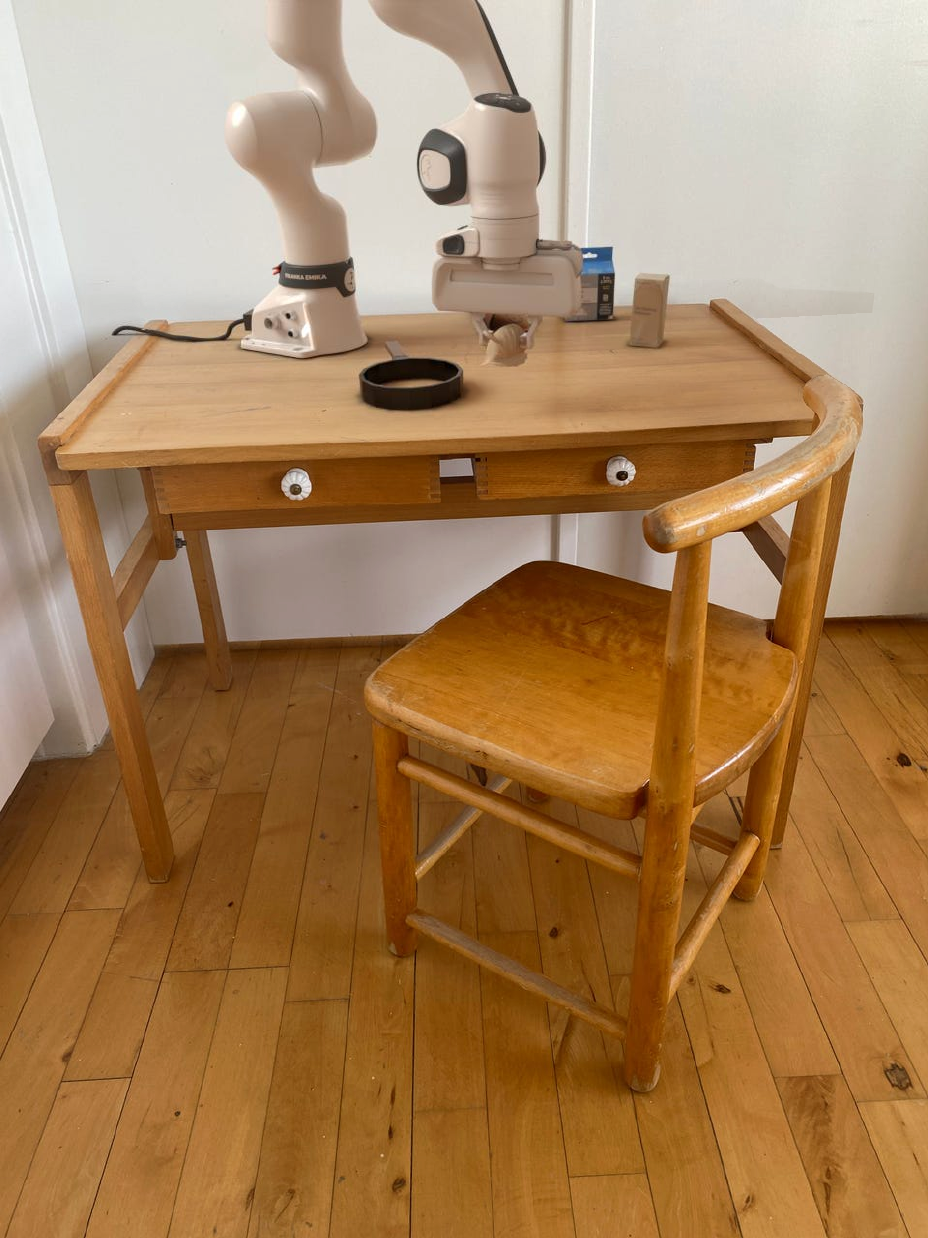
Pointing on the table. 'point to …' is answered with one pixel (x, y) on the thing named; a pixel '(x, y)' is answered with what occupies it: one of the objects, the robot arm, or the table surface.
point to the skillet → (410, 369)
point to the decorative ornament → (505, 347)
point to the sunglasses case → (505, 321)
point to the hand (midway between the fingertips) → (506, 346)
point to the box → (649, 310)
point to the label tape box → (596, 285)
